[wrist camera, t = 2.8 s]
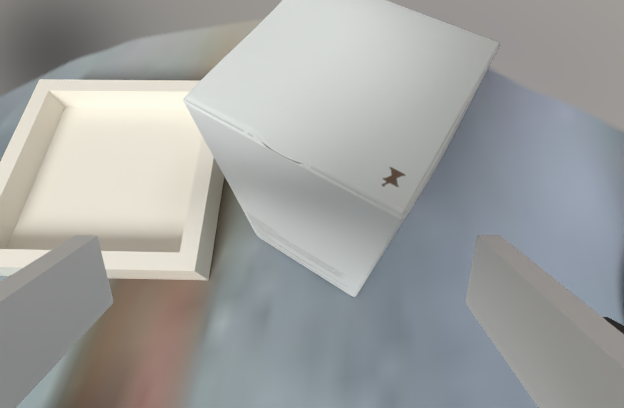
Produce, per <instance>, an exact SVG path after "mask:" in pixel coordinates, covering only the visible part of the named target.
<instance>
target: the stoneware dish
mask: <svg viewBox="0 0 624 408" xmlns="http://www.w3.org/2000/svg"><path fill="white" fill-rule="evenodd" d="M199 82H200V81H185V80H45V79H40V80H39V82H38V84H37V86H36V88H35V90H34V92H33V94H32V97H31V99H30V101H29V103H28V105H27V107H26V109H25V111H24V113H23V116H22V118H21V120H20V122H19V124H18V126H17V128H16V130H15V132H14V134H13V137H12V139H11V141H10V143H9V145H8V147H7V149H6V151H5V153H4V155H3V158H2V160H1V162H0V276H11V275H12V274H14V273H16V272H17V271H19V270H20V269H22V268H24V267H25V266H27V265H28V264H30V263H32V262H33V261H35V260H36V259H38V258H40V257H41V256H43V255H45V254H46V253H48V252H49V251H51V250H53V249H54V248H56V247H57V246H59V245H61V244H62V243H64V242H65V241H67V240H69V239H70V238H72V237H74V236H75V235H97V237H98V241H99V245H100V249H101V253H102V257H103V261H104V265H105V269H106V273H107V277H108V278H129V279H175V280H209V275H210V268H211V261H212V255H213V248H214V241H215V235H216V228H217V222H218V215H219V208H220V202H221V195H222V188H223V182H224V174H223V173H222V171H221V169H220V167H219V165H218V164H217V162H216V160H215V158H214V156H213V155H212V153H211V151H210V149H209V147H208V145H207V144H206V142H205V140H204V138H203V136H202V135H201V133H200V131H199V129H198V127H197V125H196V124H195V122H194V120H193V118H192V116H191V114H190V112H189V110H188V109H187V107H186V105H185V103H184V101H183V99H184V98H185V97H186V95H187V94H188V93H189V92H190V91H191V90H192V89H193V88H194V87H195V86H196V85H197V84H198V83H199Z"/></svg>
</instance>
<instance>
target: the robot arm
mask: <svg viewBox="0 0 624 408" xmlns="http://www.w3.org/2000/svg"><path fill="white" fill-rule="evenodd" d="M113 303H114V302H113V298H112V294H111V290H110V286H109V282H108V277H107V273H106V269H105V265H104V261H103V257H102V253H101V249H100V245H99V241H98V237H97V235H75V236H74V237H72V238H70V239H69V240H67V241H65V242H64V243H62V244H61V245H59V246H57V247H56V248H54V249H53V250H51V251H49V252H48V253H46V254H45V255H43V256H41V257H40V258H38V259H36V260H35V261H33V262H32V263H30V264H28V265H27V266H25V267H24V268H22V269H20V270H19V271H17V272H16V273H14V274H12V275H11V276H9V277H8V278H6V279H4V280H3V281H1V282H0V408H16V407H17V406H18V405H19V403H20V402H21V401H22V400H23V399H24V398H25V397H26V396H27V395H28V394H29V393H30V392H31V391H32V390H33V388H34V387H35V386H36V385H37V384H38V383H39V382H40V381H41V380H42V379H43V378H44V377H45V376H46V374H47V373H48V372H49V371H50V370H51V369H52V368H53V367H54V366H55V365H56V364H57V363H58V362H59V361H60V359H61V358H62V357H63V356H64V355H65V354H66V353H67V352H68V351H69V350H70V349H71V348H72V347H73V345H74V344H75V343H76V342H77V341H78V340H79V339H80V338H81V337H82V336H83V335H84V334H85V333H86V332H87V330H88V329H89V328H90V327H91V326H92V325H93V324H94V323H95V322H96V321H97V320H98V319H99V318H100V316H101V315H102V314H103V313H104V312H105V311H106V310H107V309H108V308H109V307H110V306H111V305H112V304H113ZM465 303H466V305H467V306H468V308H469V309H470V310H471V312H472V313H473V315H474V316H475V318H476V319H477V320H478V322H479V323H480V325H481V326H482V328H483V329H484V330H485V332H486V333H487V335H488V336H489V338H490V339H491V340H492V342H493V343H494V345H495V346H496V348H497V349H498V350H499V352H500V353H501V355H502V356H503V358H504V359H505V360H506V362H507V363H508V365H509V366H510V368H511V369H512V370H513V372H514V373H515V375H516V376H517V378H518V379H519V381H520V382H521V383H522V385H523V386H524V388H525V389H526V391H527V392H528V393H529V395H530V396H531V398H532V399H533V401H534V402H535V403H536V405H537V406H538V408H624V326H623V325H621V324H619V323H617V322H616V321H614V320H612V319H610V318H608V317H601V316H600V315H599V314H598V313H596V312H595V311H594V310H593V309H591V308H590V307H589V306H588V305H586V304H585V303H584V302H583V301H581V300H580V299H579V298H578V297H576V296H575V295H574V294H573V293H571V292H570V291H569V290H568V289H566V288H565V287H564V286H563V285H561V284H560V283H559V282H558V281H556V280H555V279H554V278H553V277H551V276H550V275H549V274H548V273H546V272H545V271H544V270H543V269H541V268H540V267H539V266H538V265H536V264H535V263H534V262H533V261H531V260H530V259H529V258H528V257H526V256H525V255H524V254H523V253H521V252H520V251H519V250H518V249H516V248H515V247H514V246H513V245H511V244H510V243H509V242H508V241H506V240H505V239H504V238H503V237H501V236H500V235H477V241H476V246H475V252H474V257H473V263H472V268H471V274H470V279H469V285H468V290H467V296H466V301H465Z"/></svg>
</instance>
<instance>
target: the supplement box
mask: <svg viewBox="0 0 624 408" xmlns="http://www.w3.org/2000/svg"><path fill="white" fill-rule="evenodd" d="M499 46H500V42H497V41H495V40H492V39H489V38H486V37H483V36H480V35H478V34H475V33H473V32H470V31H467V30H465V29H462V28H459V27H456V26H454V25H451V24H448V23H446V22H443V21H441V20H438V19H435V18H433V17H430V16H427V15H424V14H421V13H419V12H416V11H413V10H410V9H408V8H406V7H403V6H400V5H398V4H395V3H392V2H390V1H387V0H283V1H281V3H280V4H279V5H278V6H277V7H276V8H275V9H274V10H273V11H272V12H271V13H270V14H269V15H268V16H267V17H266V18H265V19H264V20H263V21H262V22H261V23H260V24H259V25H258V26H257V27H256V28H255V29H254V30H253V31H252V32H251V33H249V34H248V35H247V36H246V37H245V38H244V39H243V40H242V41H241V42H240V43H239V44H238V45H237V46H236V47H235V48H234V49H233V50H232V51H231V52H229V53H228V54H227V55H226V56H225V57H224V58H223V59H222V60H221V61H220V62H219V63H218V64H217V65H216V66H215V67H214V68H213V69H212V70H211V71H210V72H209V73H208V74H207V75H206V76H205V77H204V78H203V79H202V80H201V81H200V82H199V83H198V84H197V85H196V86H195V87H194V88H193V89H192V90H191V91H190V92H189V93H188V94H187V95H186V97H185V98H184V99H183V101H184V103H185V105H186V107H187V109H188V110H189V112H190V114H191V116H192V118H193V120H194V122H195V124H196V125H197V127H198V129H199V131H200V133H201V135H202V136H203V138H204V140H205V142H206V144H207V145H208V147H209V149H210V151H211V153H212V155H213V156H214V158H215V160H216V162H217V164H218V165H219V167H220V169H221V171H222V173H223V174H224V176H225V178H226V180H227V182H228V184H229V185H230V187H231V189H232V191H233V193H234V195H235V196H236V198H237V200H238V202H239V204H240V206H241V207H242V209H243V211H244V213H245V215H246V217H247V218H248V220H249V222H250V224H251V226H252V228H253V230H254V231H255V233H256V235H257V236H258V237H259V238H261V239H262V240H264V241H265V242H267V243H269V244H270V245H272V246H273V247H275V248H276V249H278V250H280V251H281V252H283V253H284V254H286V255H287V256H289V257H291V258H292V259H294V260H295V261H297V262H298V263H300V264H302V265H303V266H305V267H306V268H308V269H309V270H311V271H313V272H314V273H316V274H317V275H319V276H321V277H322V278H324V279H325V280H327V281H329V282H330V283H332V284H333V285H335V286H336V287H338V288H340V289H341V290H343V291H344V292H346V293H347V294H349V295H351V296H353V297H355V296H357V294H358V292H359V291H360V289H361V288H362V286H363V285H364V283H365V281H366V280H367V278H368V277H369V275H370V274H371V272H372V270H373V269H374V267H375V266H376V264H377V263H378V261H379V259H380V258H381V256H382V255H383V253H384V252H385V250H386V249H387V247H388V245H389V244H390V242H391V241H392V239H393V238H394V236H395V234H396V233H397V231H398V230H399V228H400V227H401V225H402V223H403V222H404V220H405V219H406V217H407V216H408V214H409V212H410V211H411V209H412V208H413V206H414V204H415V203H416V201H417V200H418V198H419V196H420V195H421V193H422V191H423V190H424V188H425V186H426V185H427V183H428V181H429V180H430V178H431V176H432V174H433V173H434V171H435V169H436V167H437V166H438V164H439V162H440V160H441V158H442V157H443V155H444V153H445V151H446V149H447V148H448V146H449V144H450V142H451V140H452V138H453V136H454V134H455V133H456V131H457V129H458V127H459V125H460V123H461V121H462V119H463V117H464V115H465V113H466V111H467V109H468V107H469V105H470V103H471V101H472V99H473V97H474V95H475V93H476V91H477V89H478V87H479V85H480V84H481V82H482V80H483V78H484V76H485V74H486V72H487V70H488V68H489V66H490V64H491V62H492V60H493V58H494V56H495V54H496V52H497V50H498V49H499Z"/></svg>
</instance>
